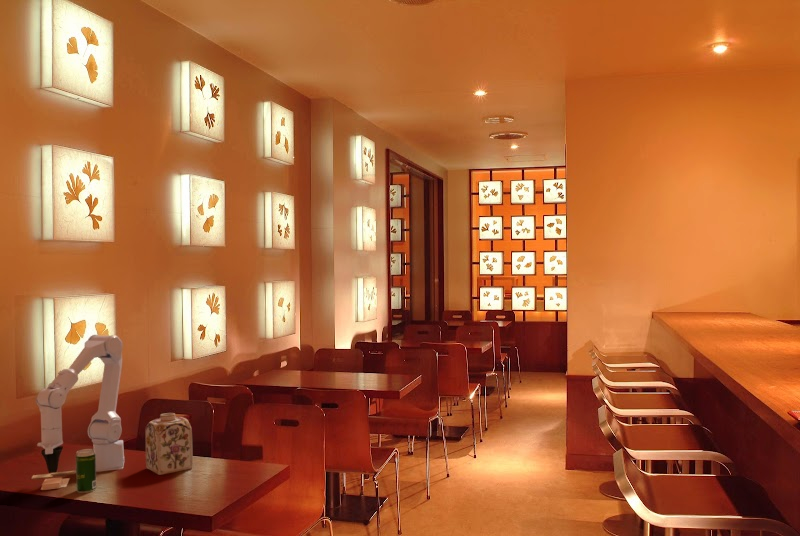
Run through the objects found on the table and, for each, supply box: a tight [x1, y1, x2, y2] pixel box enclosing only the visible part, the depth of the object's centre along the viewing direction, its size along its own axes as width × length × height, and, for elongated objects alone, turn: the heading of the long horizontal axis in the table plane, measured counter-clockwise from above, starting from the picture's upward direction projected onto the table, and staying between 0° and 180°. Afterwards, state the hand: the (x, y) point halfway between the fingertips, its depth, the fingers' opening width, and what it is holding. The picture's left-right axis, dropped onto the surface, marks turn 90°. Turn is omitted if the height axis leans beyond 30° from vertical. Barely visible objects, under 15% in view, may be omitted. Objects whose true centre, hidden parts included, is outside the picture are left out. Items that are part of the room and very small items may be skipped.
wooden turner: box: [30, 470, 76, 480], centre depth 231 cm, size 12×4×1 cm, turn 109°
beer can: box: [75, 448, 97, 494], centre depth 214 cm, size 5×5×12 cm
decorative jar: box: [144, 412, 194, 476], centre depth 236 cm, size 12×12×18 cm
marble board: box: [40, 477, 71, 491], centre depth 221 cm, size 7×10×1 cm
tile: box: [41, 476, 63, 491], centre depth 218 cm, size 2×5×6 cm
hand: (52, 472), depth 220 cm, fingers closed
